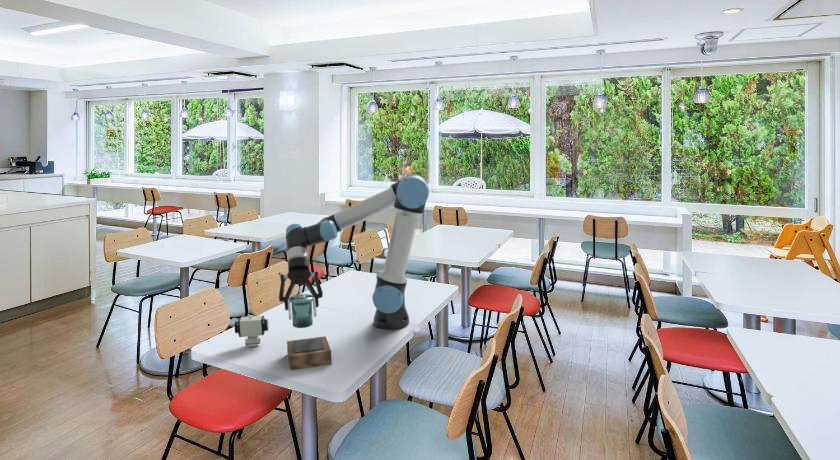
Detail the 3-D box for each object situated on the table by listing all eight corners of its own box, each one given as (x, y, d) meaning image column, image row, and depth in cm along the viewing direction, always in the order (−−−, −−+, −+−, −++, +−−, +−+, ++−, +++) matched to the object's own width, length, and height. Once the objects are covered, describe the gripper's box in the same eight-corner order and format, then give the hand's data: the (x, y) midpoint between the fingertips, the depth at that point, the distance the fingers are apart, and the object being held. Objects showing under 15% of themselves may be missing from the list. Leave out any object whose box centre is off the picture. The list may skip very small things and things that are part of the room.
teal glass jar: (313, 319, 183) (311, 291, 181) (315, 327, 175) (313, 297, 173) (290, 321, 181) (289, 293, 179) (291, 329, 173) (290, 300, 171)
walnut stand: (326, 348, 185) (325, 335, 184) (331, 364, 172) (331, 349, 171) (287, 354, 181) (286, 340, 180) (290, 370, 168) (289, 355, 167)
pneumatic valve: (268, 346, 188) (266, 316, 186) (236, 349, 186) (233, 318, 184) (269, 341, 193) (267, 311, 191) (238, 343, 191) (236, 313, 189)
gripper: (325, 264, 192) (332, 317, 180) (269, 268, 186) (272, 324, 174) (326, 254, 186) (333, 308, 174) (268, 258, 181) (271, 315, 168)
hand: (302, 316), depth 174 cm, fingers closed on teal glass jar, 8 cm apart
